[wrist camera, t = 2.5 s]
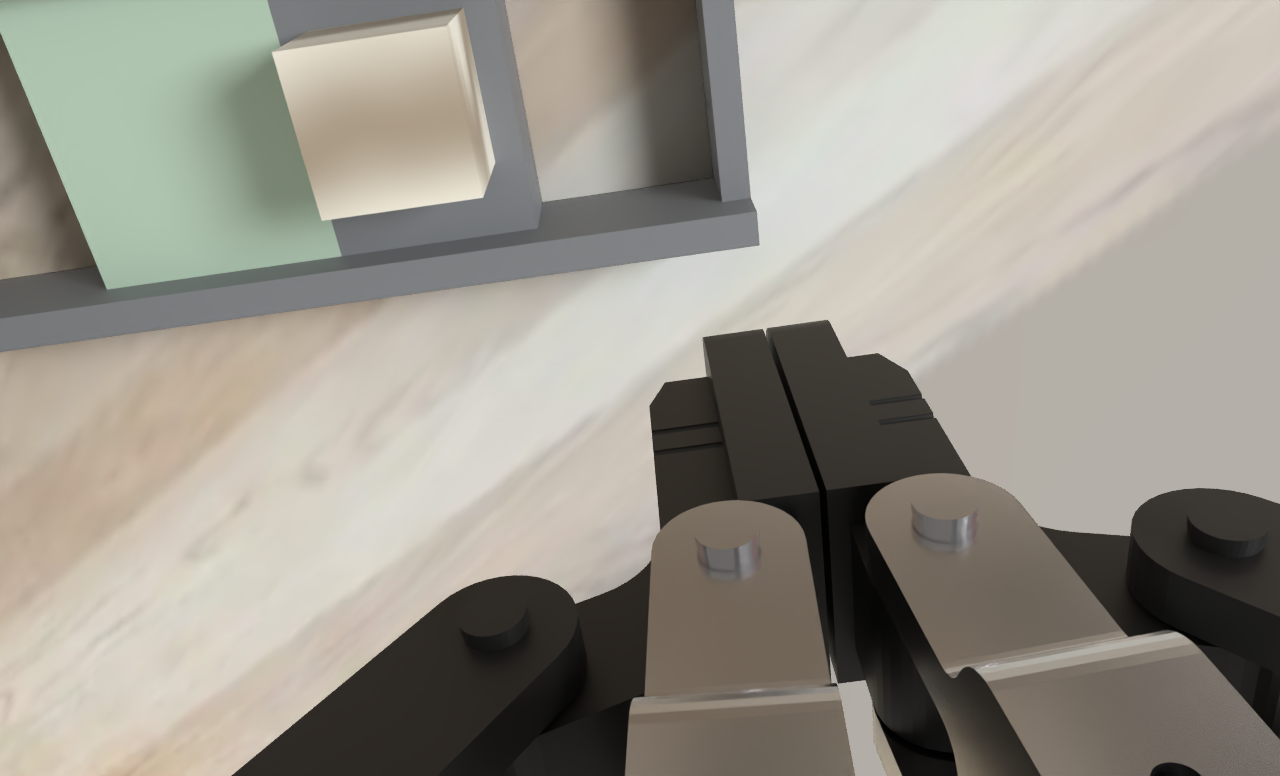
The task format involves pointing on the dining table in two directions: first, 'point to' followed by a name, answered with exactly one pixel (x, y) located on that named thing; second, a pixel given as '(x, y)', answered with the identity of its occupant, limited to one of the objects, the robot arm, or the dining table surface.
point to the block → (388, 113)
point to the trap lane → (304, 172)
